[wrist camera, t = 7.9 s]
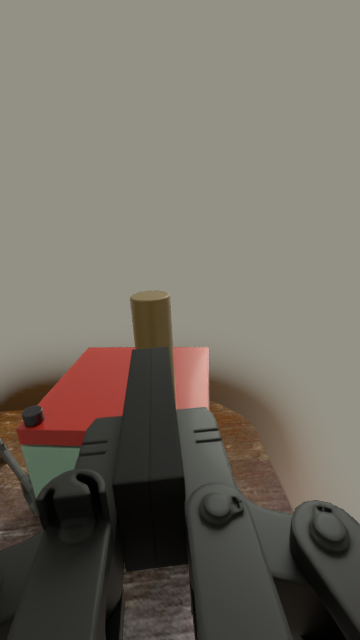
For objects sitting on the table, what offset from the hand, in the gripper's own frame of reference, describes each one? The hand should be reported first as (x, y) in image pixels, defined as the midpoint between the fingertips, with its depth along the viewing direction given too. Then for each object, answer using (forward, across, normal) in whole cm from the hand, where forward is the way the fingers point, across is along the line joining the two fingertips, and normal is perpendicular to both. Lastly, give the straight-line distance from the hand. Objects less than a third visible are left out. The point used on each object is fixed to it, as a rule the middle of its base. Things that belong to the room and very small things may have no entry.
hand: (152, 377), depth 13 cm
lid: (+10, -2, -7) cm, 12 cm away
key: (+11, -13, -16) cm, 24 cm away
